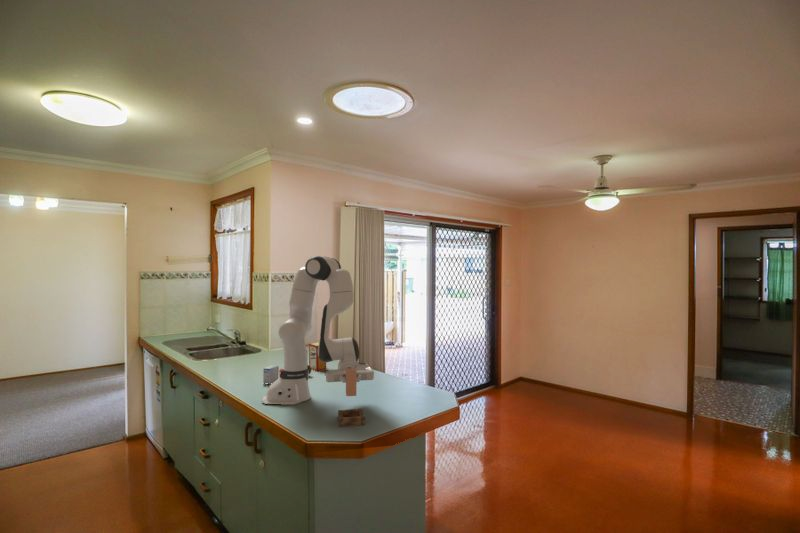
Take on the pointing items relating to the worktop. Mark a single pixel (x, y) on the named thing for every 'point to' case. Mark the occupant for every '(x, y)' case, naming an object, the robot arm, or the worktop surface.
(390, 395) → the worktop surface
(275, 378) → the medicine box
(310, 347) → the baking soda box
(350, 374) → the salmon orange rectangular block
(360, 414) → the walnut well
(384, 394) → the worktop surface
